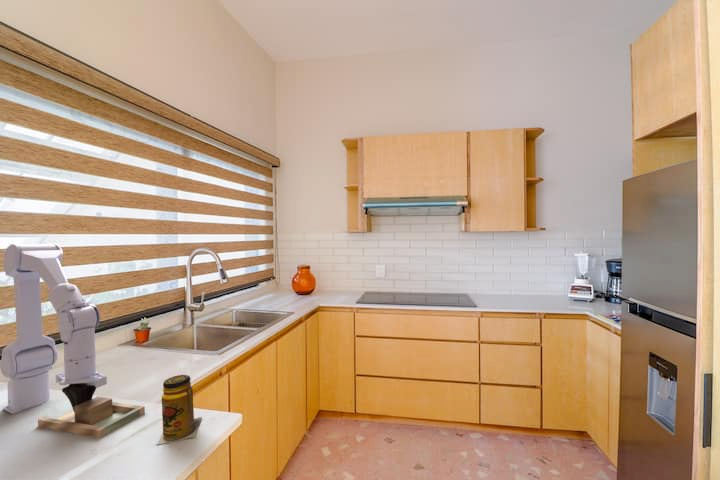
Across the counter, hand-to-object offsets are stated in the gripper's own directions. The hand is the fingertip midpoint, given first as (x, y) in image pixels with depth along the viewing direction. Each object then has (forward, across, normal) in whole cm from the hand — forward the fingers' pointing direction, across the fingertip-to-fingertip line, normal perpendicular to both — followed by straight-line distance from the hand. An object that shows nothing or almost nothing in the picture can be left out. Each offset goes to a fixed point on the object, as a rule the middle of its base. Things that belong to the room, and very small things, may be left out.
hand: (81, 413), depth 77 cm
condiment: (+2, +28, +2) cm, 28 cm away
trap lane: (+2, +4, 0) cm, 4 cm away
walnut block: (+1, +4, 0) cm, 4 cm away
